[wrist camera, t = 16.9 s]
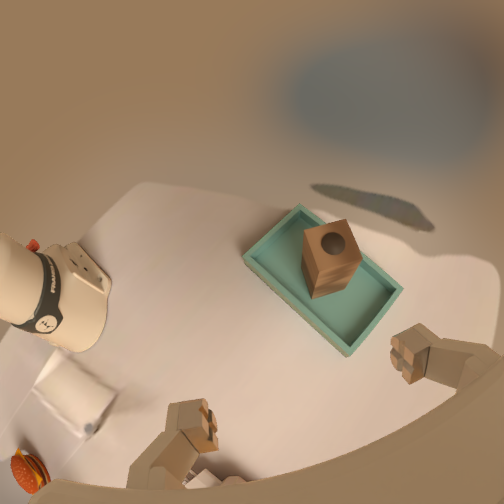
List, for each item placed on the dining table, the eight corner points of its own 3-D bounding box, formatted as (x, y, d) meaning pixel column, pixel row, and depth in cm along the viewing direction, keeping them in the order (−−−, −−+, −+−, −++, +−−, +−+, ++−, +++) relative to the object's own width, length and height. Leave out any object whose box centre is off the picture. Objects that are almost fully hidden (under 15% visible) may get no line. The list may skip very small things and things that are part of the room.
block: (311, 299, 37) (319, 271, 27) (300, 267, 39) (303, 229, 29) (344, 289, 37) (363, 257, 27) (333, 258, 39) (345, 217, 29)
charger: (207, 447, 31) (286, 506, 25) (169, 479, 29) (243, 535, 23) (196, 455, 27) (285, 520, 21) (155, 488, 25) (238, 550, 19)
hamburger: (24, 469, 27) (4, 471, 21) (29, 445, 30) (8, 446, 25) (49, 499, 25) (29, 503, 19) (56, 476, 28) (33, 481, 22)
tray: (245, 264, 42) (241, 256, 39) (299, 213, 44) (299, 203, 41) (345, 357, 34) (350, 356, 31) (396, 294, 36) (403, 288, 34)
